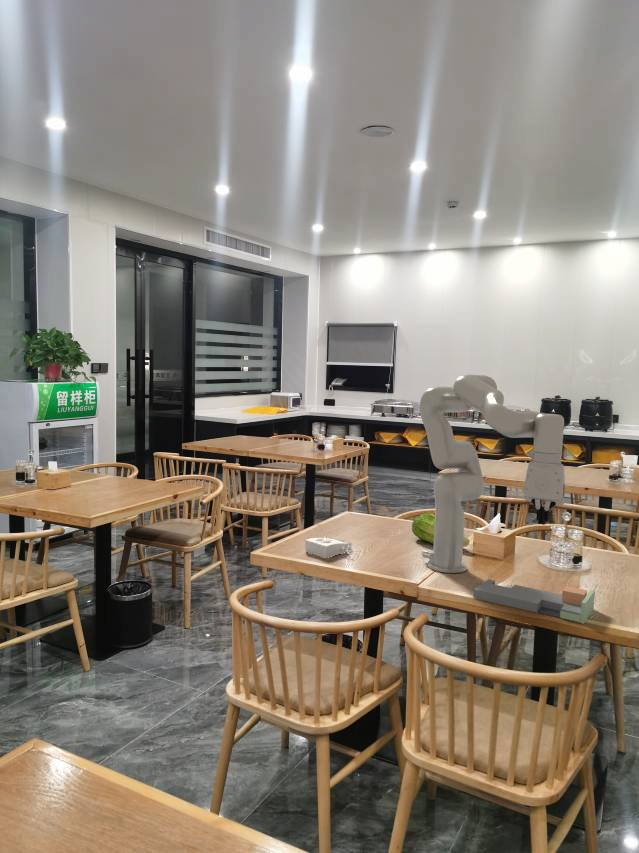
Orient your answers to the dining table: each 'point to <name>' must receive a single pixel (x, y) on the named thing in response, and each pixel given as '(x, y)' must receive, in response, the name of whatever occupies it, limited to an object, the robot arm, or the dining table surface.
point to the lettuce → (428, 528)
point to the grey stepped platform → (536, 601)
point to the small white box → (326, 546)
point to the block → (573, 595)
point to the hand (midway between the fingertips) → (542, 523)
